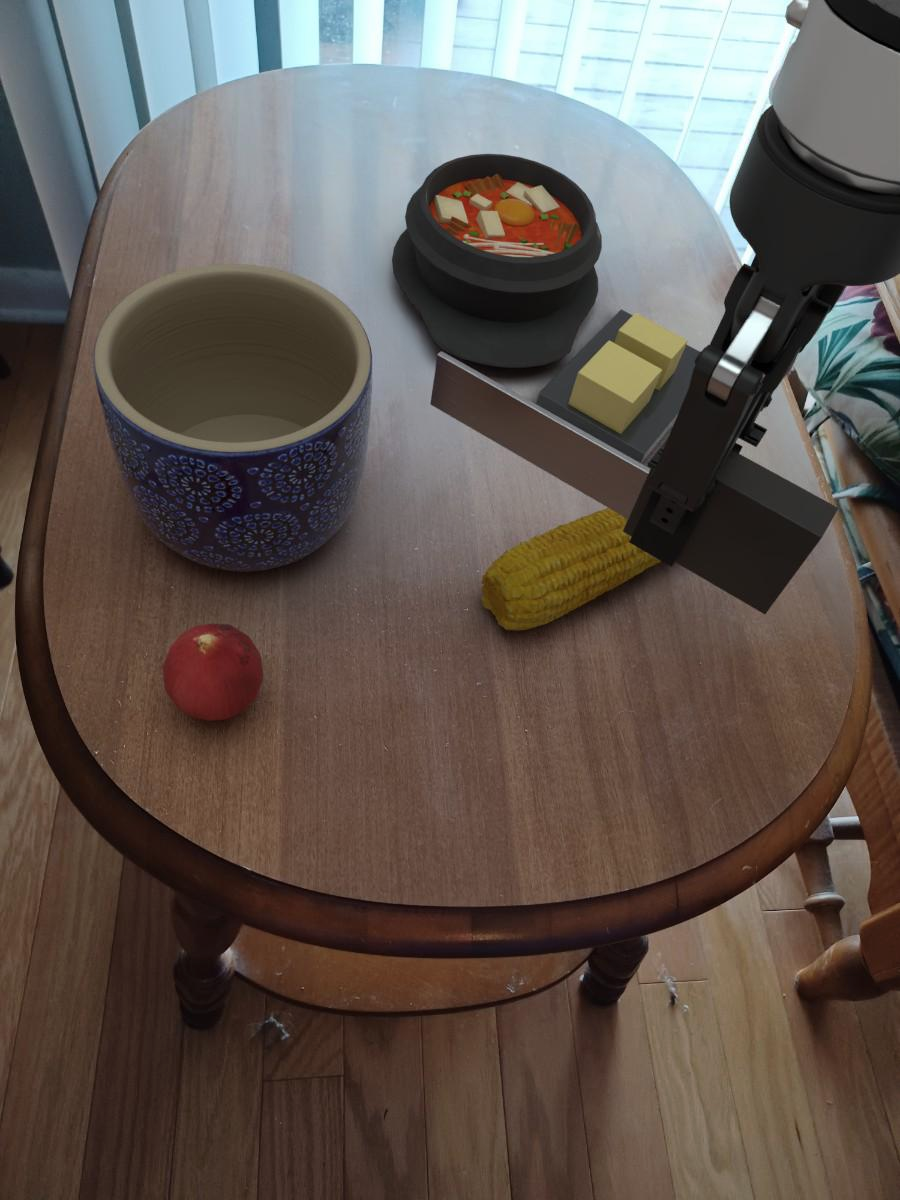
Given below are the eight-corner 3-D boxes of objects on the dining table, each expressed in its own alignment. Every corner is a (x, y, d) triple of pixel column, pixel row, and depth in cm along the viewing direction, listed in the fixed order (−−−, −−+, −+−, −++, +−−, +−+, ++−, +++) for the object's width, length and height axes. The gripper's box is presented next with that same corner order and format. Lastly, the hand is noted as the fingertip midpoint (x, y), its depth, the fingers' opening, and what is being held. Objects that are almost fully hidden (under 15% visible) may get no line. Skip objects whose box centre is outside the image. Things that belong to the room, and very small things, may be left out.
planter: (137, 423, 72) (101, 257, 60) (355, 422, 75) (364, 263, 63) (123, 606, 63) (78, 455, 51) (371, 597, 66) (385, 451, 54)
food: (510, 658, 65) (527, 611, 60) (464, 598, 67) (476, 548, 62) (728, 538, 73) (758, 487, 68) (680, 488, 75) (706, 436, 70)
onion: (211, 645, 62) (199, 576, 56) (283, 689, 61) (279, 624, 55) (152, 711, 59) (132, 646, 53) (226, 758, 58) (215, 698, 52)
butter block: (649, 401, 78) (662, 369, 75) (620, 434, 76) (632, 403, 73) (598, 372, 79) (609, 339, 77) (567, 404, 77) (577, 372, 74)
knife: (781, 586, 53) (839, 507, 47) (764, 615, 52) (822, 537, 46) (442, 392, 58) (457, 299, 52) (420, 413, 57) (432, 321, 51)
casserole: (608, 392, 80) (636, 313, 73) (388, 376, 78) (396, 293, 71) (579, 212, 94) (600, 131, 87) (391, 194, 92) (398, 109, 85)
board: (714, 375, 83) (720, 362, 82) (639, 466, 76) (644, 454, 75) (616, 322, 86) (621, 308, 84) (535, 406, 78) (538, 392, 77)
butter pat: (674, 372, 81) (688, 340, 78) (658, 390, 79) (671, 358, 76) (624, 344, 82) (635, 311, 79) (607, 362, 80) (618, 329, 77)
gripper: (841, 23, 39) (666, 425, 59) (682, 184, 31) (540, 587, 51) (1016, 96, 37) (776, 484, 57) (895, 286, 29) (663, 662, 49)
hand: (665, 532), depth 54 cm, fingers closed on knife, 2 cm apart
